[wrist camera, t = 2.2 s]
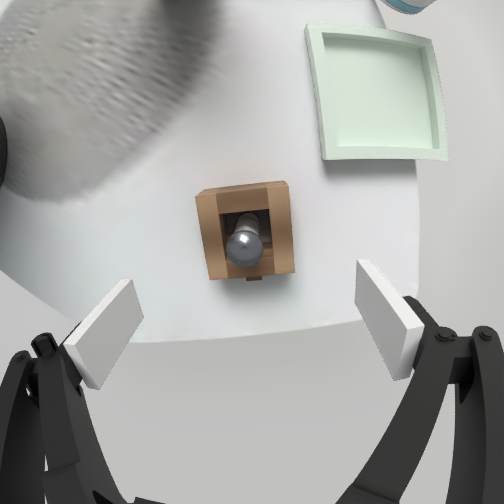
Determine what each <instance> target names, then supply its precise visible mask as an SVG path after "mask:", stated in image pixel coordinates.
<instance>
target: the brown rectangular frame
mask: <svg viewBox="0 0 504 504" xmlns="http://www.w3.org/2000/svg"><path fill="white" fill-rule="evenodd" d="M195 199H196V205H197V212H198V218H199V224H200V230H201V235H202V241H203V247H204V252H205V258H206V263H207V269H208V274H209V279H210V280H218V279H230V278H242V277H246V281H253V280H262V276H265V275H276V274H286V273H295V269H294V252H293V237H292V223H291V211H290V198H289V187H288V185H287V183H286V182H285V181H276V182H266V183H256V184H247V185H238V186H229V187H221V188H213V189H206V190H203V191H202V192H200V193H199V194H198V195H196V196H195ZM261 209H269V215H270V225H271V235H272V242H268V243H262V245H263V253H262V256H261V258H260V260H259V261H258V262H257V263H256V264H254V265H252V266H249V267H240V266H237V265H235V264H234V263H232V262H231V261H230V260H229V258H228V256H227V254H226V245H227V242H228V239H229V236H228V229H227V222H226V215H225V213H233V212H242V211H251V210H261Z"/></svg>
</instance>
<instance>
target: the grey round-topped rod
mask: <svg viewBox="0 0 504 504" xmlns="http://www.w3.org/2000/svg"><path fill="white" fill-rule="evenodd" d="M262 253H263V245H262V241H261V239H260V238H259V220H258V218H257V217H256V216H255V215H254V214H251V213H246V214H243V215H242V216H241V217H240V218H239V220H238V223H237V226H236V229H235V232H234V234H232V235H231V236H230V238H229V239H228V242H227V245H226V254H227V256H228V258H229V260H230V261H231V262H232V263H234V264H235V265H237V266H240V267H249V266H252V265H254V264H256V263H257V262H258V261H259V260H260V258H261V256H262Z"/></svg>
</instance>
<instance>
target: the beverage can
mask: <svg viewBox="0 0 504 504" xmlns="http://www.w3.org/2000/svg"><path fill="white" fill-rule="evenodd" d="M381 1H382V2H384V3H385V4H386V5H387V6H389V7H391V8H392V9H394V10H396V11H398V12H401V13H404V14H417V13H419V12H420V11H422V10H423V9H424V8H426V7H427V6H429V5H430V4H432V3H433V2H434V1H436V0H381Z"/></svg>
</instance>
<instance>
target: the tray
mask: <svg viewBox="0 0 504 504" xmlns="http://www.w3.org/2000/svg"><path fill="white" fill-rule="evenodd" d="M304 31H305V36H306V42H307V47H308V53H309V59H310V65H311V71H312V78H313V85H314V92H315V99H316V107H317V115H318V124H319V133H320V144H321V155H322V159H324V160H337V159H423V160H442V161H443V160H444V161H448V146H447V131H446V120H445V110H444V102H443V95H442V89H441V83H440V77H439V72H438V67H437V62H436V58H435V53H434V50H433V46H432V42H431V39H427V38H424V37H420V36H416V35H411V34H406V33H402V32H397V31H392V30H386V29H380V28H374V27H367V26H359V25H349V24H337V23H316V22H307V24H306V27H305V29H304Z"/></svg>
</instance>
